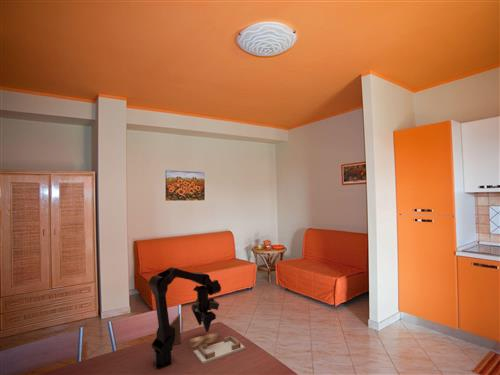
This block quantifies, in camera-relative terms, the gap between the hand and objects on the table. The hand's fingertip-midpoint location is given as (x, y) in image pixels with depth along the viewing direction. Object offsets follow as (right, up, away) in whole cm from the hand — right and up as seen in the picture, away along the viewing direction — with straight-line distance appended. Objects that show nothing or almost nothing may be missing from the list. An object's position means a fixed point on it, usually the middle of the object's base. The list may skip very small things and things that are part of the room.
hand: (203, 328), depth 150 cm
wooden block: (-17, -8, 0) cm, 19 cm away
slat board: (+9, -7, -9) cm, 14 cm away
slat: (0, -8, 0) cm, 8 cm away
